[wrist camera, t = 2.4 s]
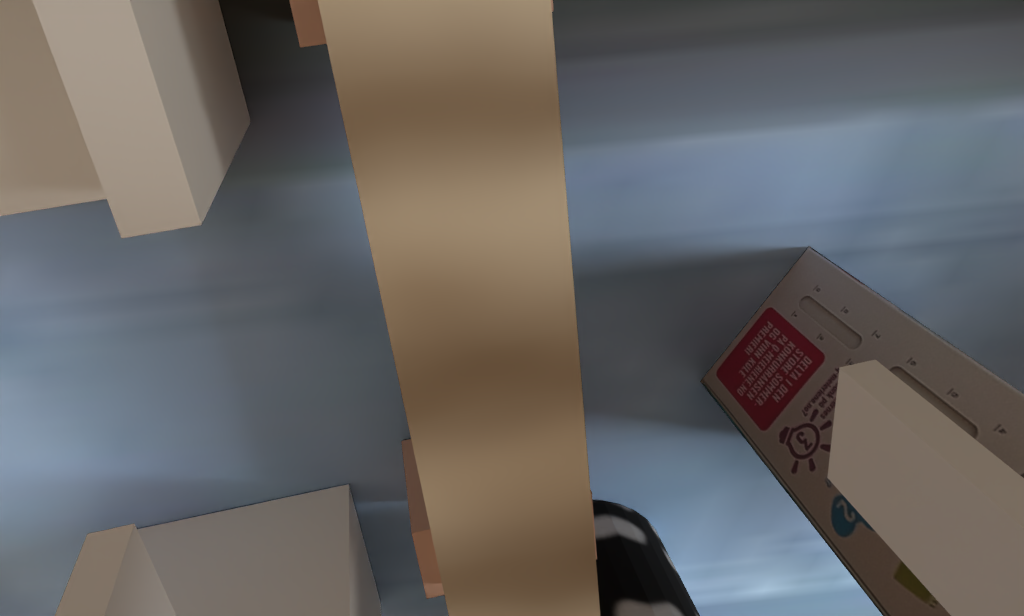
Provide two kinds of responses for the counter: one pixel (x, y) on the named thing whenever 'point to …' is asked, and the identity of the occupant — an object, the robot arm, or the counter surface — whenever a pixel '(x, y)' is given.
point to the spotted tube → (635, 567)
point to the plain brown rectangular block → (310, 35)
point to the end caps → (156, 208)
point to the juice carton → (812, 397)
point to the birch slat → (476, 286)
